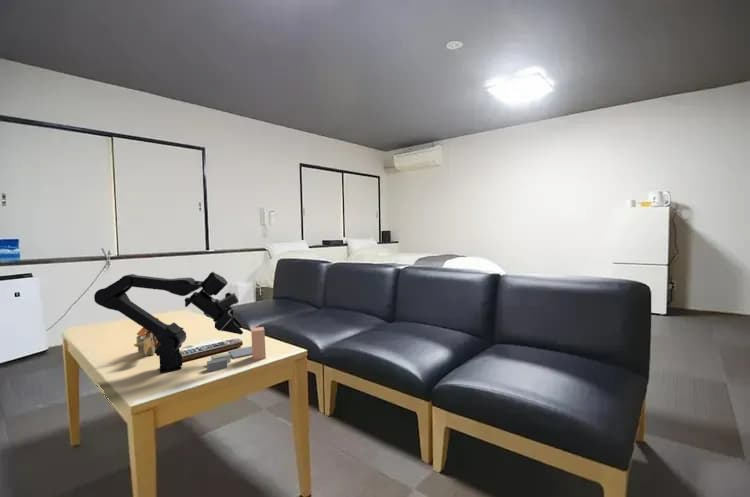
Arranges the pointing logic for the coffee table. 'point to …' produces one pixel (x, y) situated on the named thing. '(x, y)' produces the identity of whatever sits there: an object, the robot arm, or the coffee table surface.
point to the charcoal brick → (216, 364)
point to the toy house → (147, 343)
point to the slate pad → (241, 352)
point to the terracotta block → (258, 343)
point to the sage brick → (224, 355)
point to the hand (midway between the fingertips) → (241, 330)
